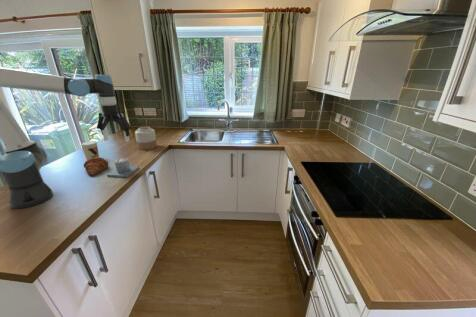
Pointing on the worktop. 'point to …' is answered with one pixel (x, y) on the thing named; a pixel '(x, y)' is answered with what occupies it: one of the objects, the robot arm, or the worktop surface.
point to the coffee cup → (90, 150)
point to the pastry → (95, 166)
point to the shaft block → (123, 175)
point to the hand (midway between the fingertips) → (117, 141)
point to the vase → (145, 138)
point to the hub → (122, 165)
